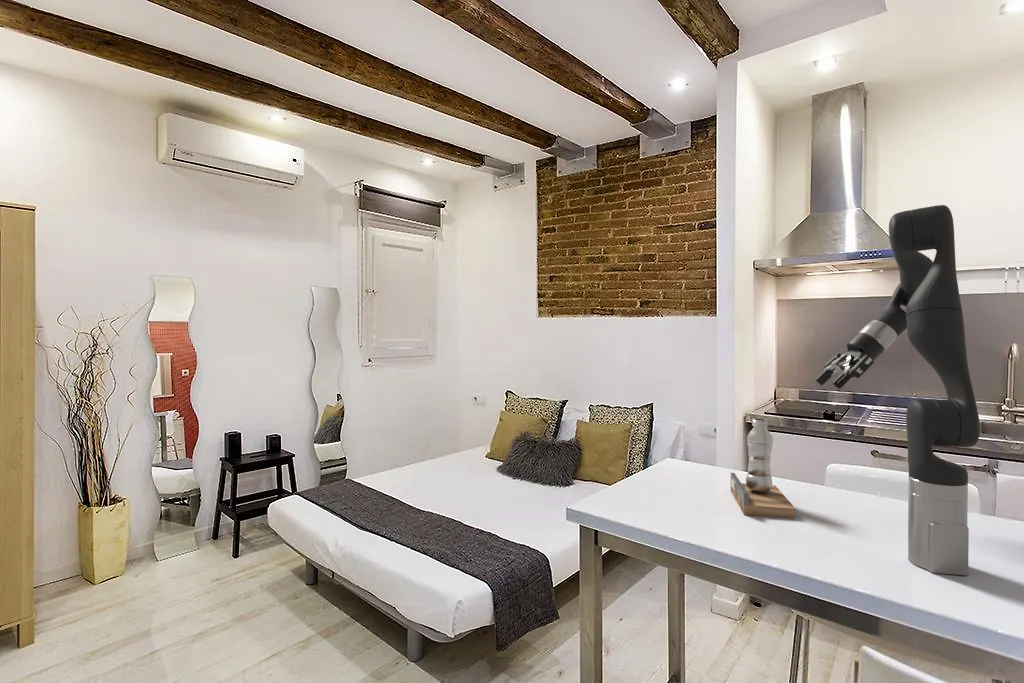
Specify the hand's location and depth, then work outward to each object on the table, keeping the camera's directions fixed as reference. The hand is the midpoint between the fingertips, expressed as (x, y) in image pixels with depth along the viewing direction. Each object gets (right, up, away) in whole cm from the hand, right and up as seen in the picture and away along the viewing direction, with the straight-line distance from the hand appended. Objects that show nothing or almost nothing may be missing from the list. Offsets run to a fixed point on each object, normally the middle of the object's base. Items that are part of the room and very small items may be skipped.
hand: (826, 384), depth 139 cm
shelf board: (-16, -33, +3) cm, 37 cm away
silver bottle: (-15, -30, +6) cm, 34 cm away
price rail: (-22, -30, +4) cm, 38 cm away
